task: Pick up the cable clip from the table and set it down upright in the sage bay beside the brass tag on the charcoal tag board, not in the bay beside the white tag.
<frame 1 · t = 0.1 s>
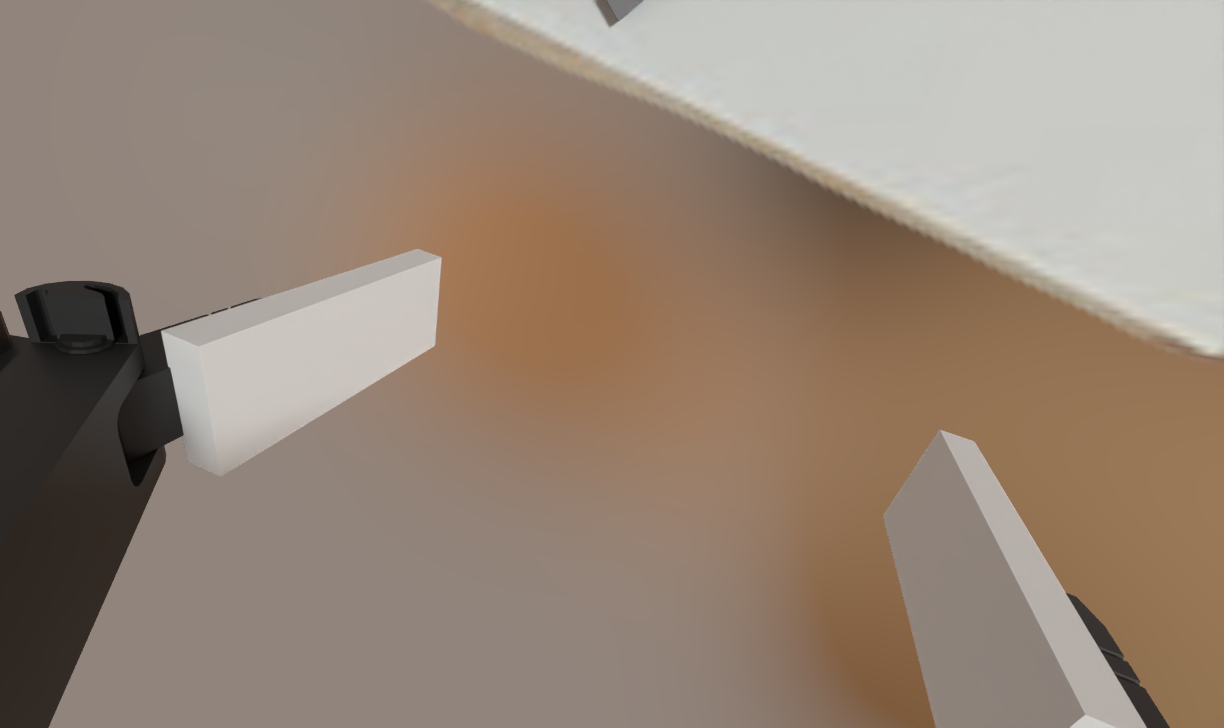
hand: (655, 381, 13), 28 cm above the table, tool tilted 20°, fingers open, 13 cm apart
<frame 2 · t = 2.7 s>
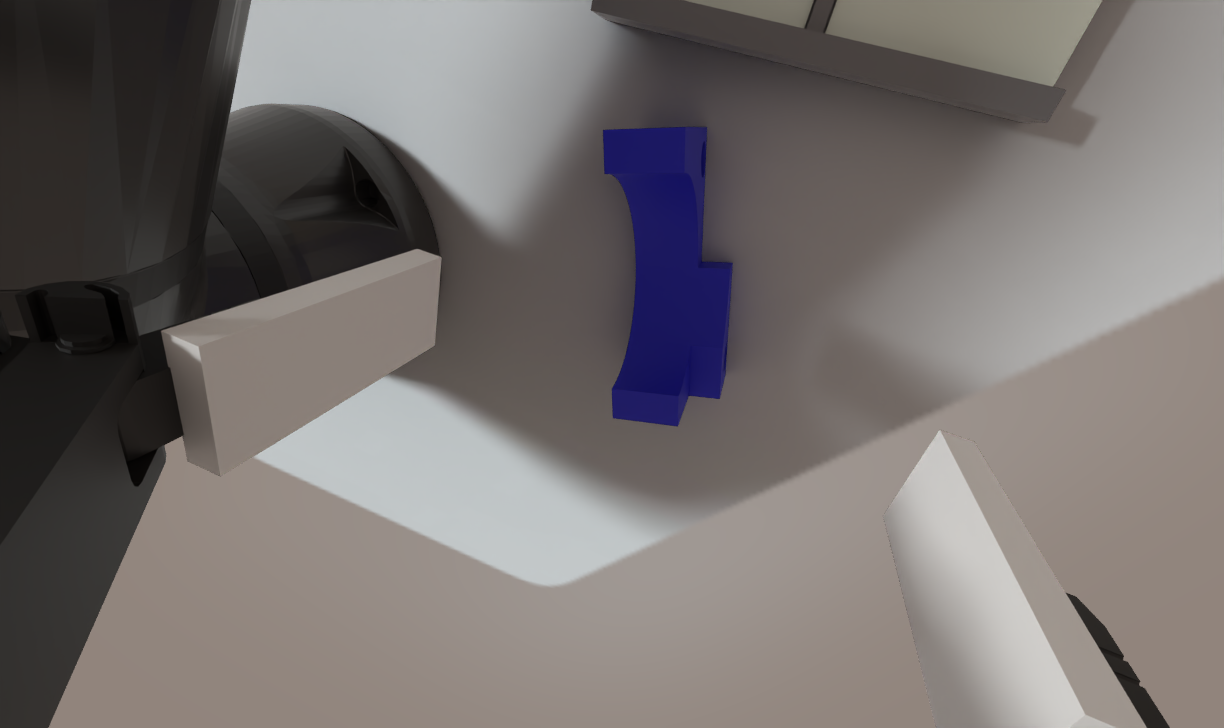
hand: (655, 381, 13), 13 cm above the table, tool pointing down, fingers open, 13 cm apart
cable clip: (687, 259, 26), on the table
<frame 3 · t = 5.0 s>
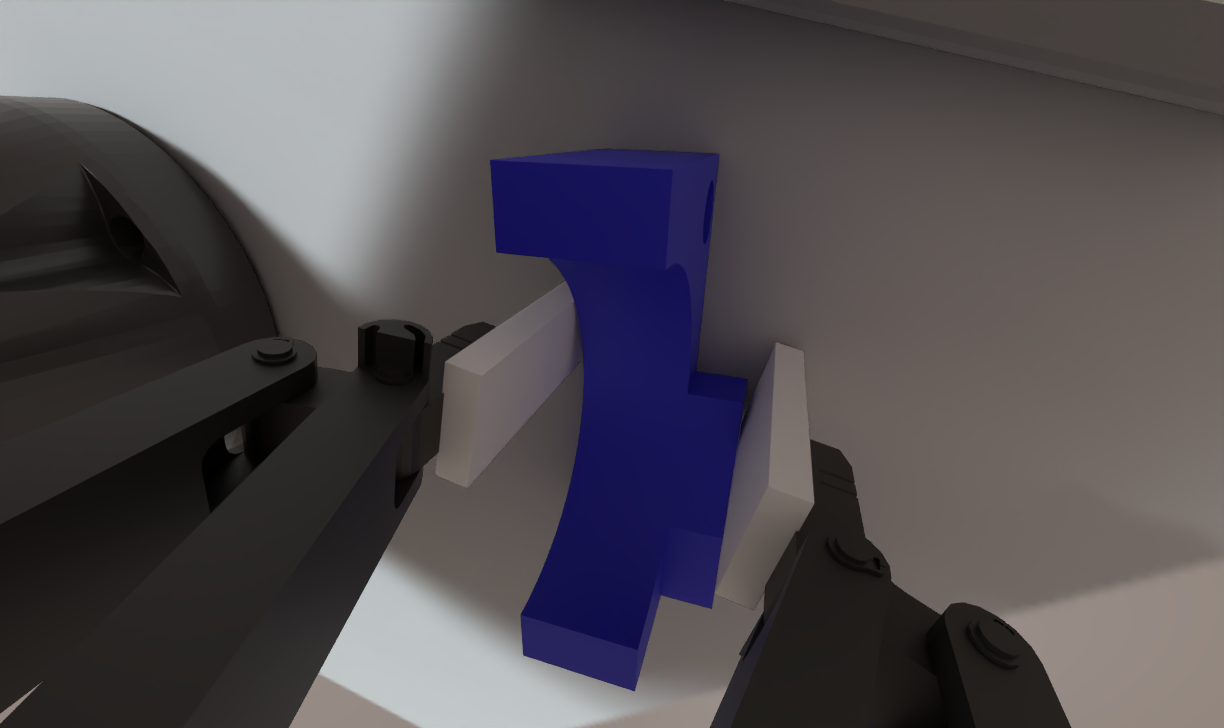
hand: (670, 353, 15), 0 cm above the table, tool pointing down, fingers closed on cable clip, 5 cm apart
cable clip: (672, 364, 16), on the table, touching gripper
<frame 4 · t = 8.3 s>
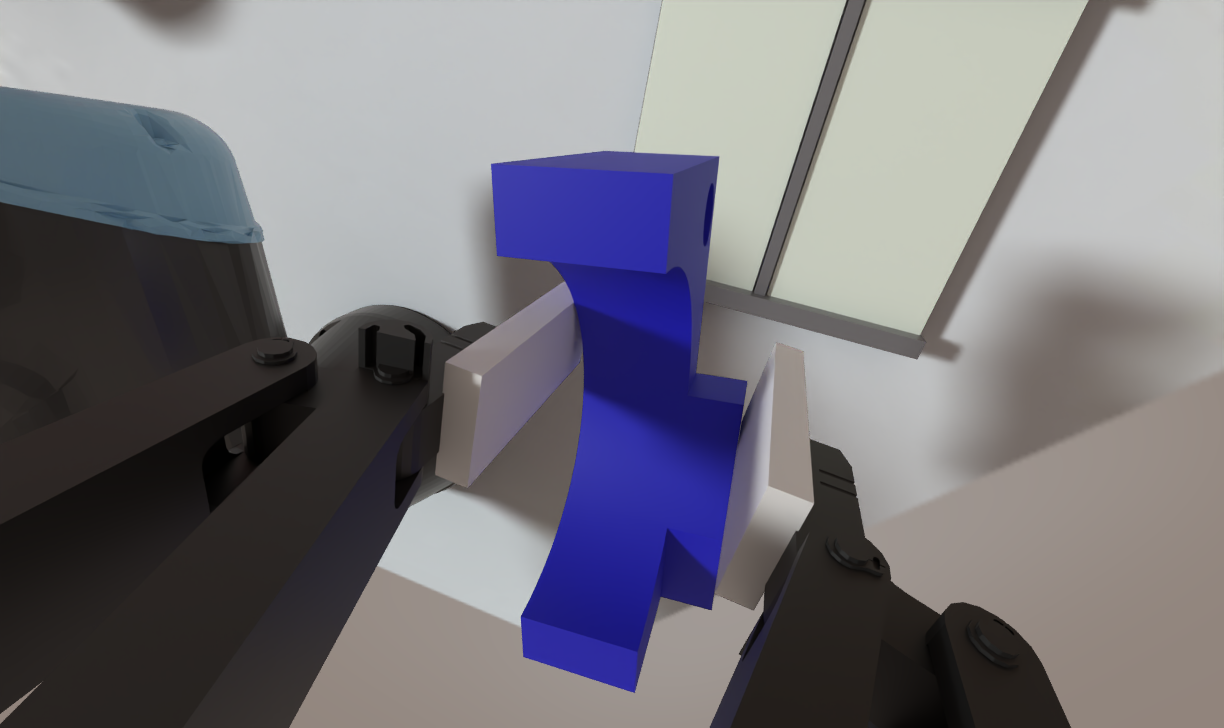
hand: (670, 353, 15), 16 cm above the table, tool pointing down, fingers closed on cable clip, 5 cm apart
tag board: (820, 102, 25), on the table
cable clip: (672, 366, 16), point 16 cm above the table, touching gripper
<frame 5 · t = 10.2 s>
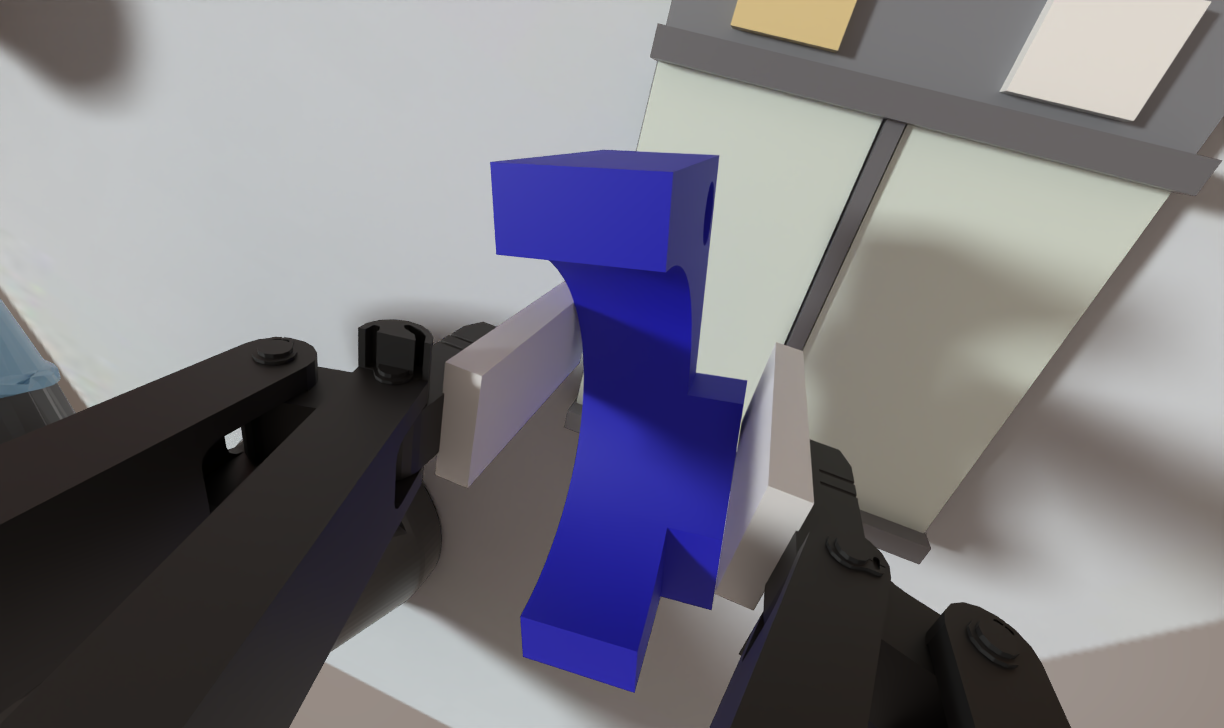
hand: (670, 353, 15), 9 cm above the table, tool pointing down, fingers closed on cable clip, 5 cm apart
tag board: (823, 267, 21), on the table
cable clip: (672, 365, 16), point 8 cm above the table, touching gripper
when the fingers open (4 cm above the table, at t = 11.8 s): cable clip drops 2 cm, resting on tag board.
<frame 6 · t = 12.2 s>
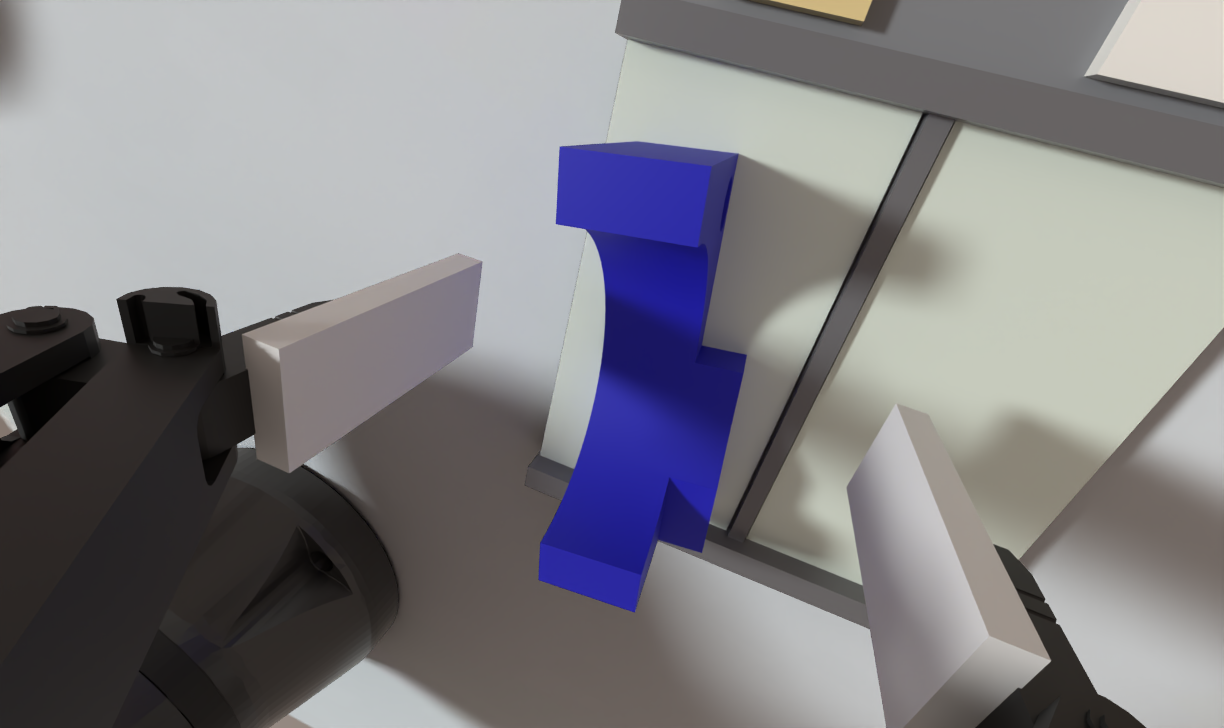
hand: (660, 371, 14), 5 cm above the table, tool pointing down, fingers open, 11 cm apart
tag board: (839, 301, 17), on the table
cable clip: (681, 338, 18), point 1 cm above the table, touching tag board
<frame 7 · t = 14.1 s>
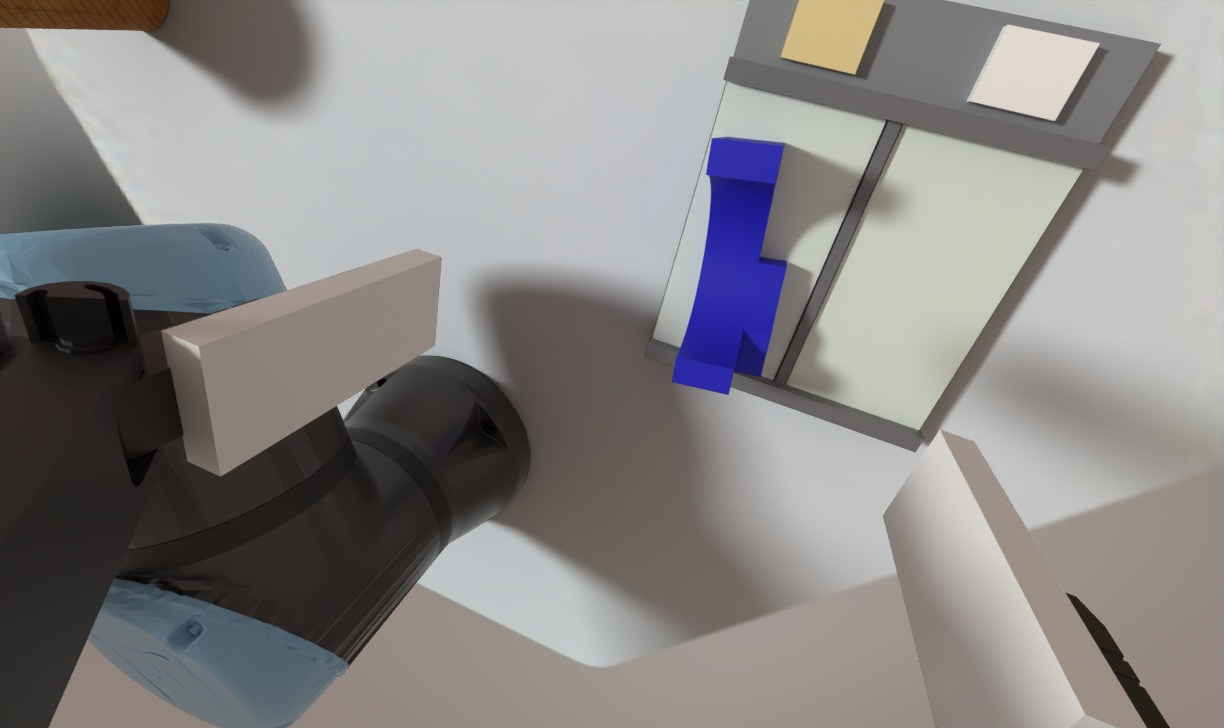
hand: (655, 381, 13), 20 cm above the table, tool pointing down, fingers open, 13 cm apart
tag board: (843, 228, 29), on the table
cable clip: (747, 253, 30), point 1 cm above the table, touching tag board
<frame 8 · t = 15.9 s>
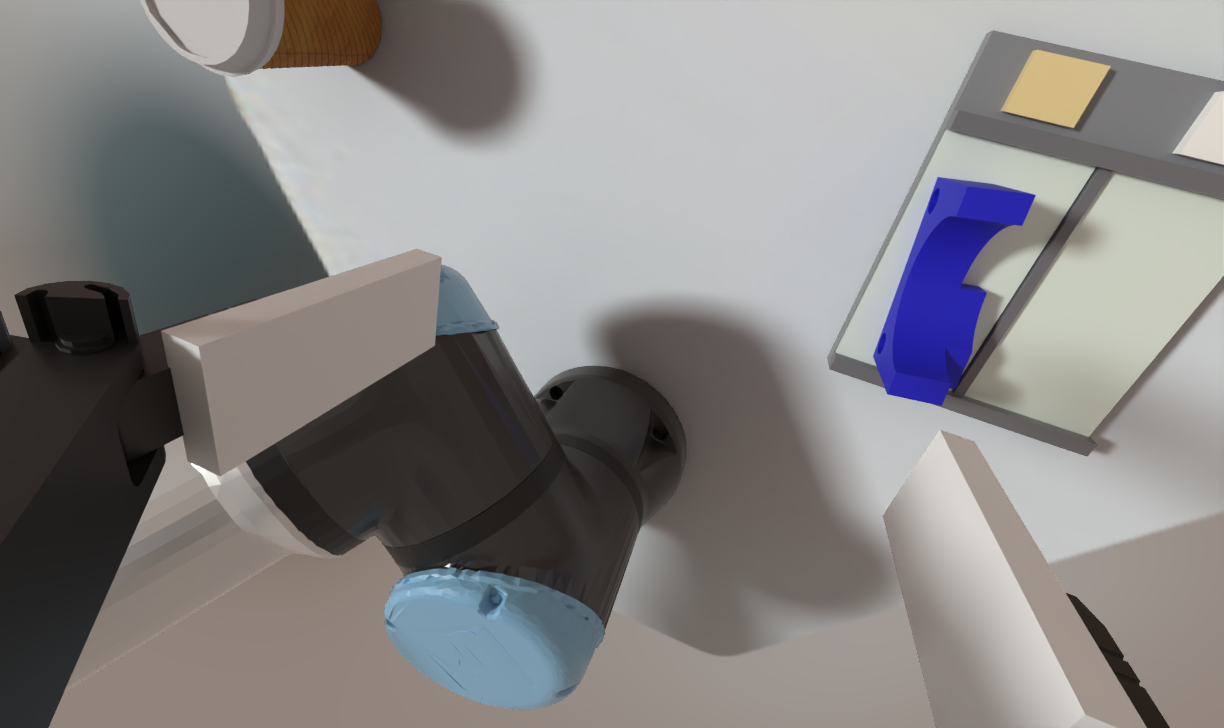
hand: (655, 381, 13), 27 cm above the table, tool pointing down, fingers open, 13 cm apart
disposable coffee cup: (348, 18, 39), on the table
tag board: (1033, 258, 32), on the table
cable clip: (939, 279, 33), point 1 cm above the table, touching tag board
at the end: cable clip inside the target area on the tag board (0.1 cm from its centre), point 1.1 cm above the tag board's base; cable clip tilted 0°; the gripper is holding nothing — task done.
